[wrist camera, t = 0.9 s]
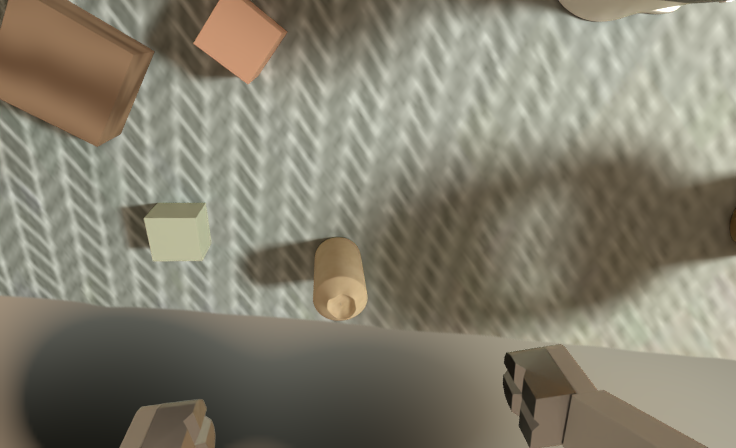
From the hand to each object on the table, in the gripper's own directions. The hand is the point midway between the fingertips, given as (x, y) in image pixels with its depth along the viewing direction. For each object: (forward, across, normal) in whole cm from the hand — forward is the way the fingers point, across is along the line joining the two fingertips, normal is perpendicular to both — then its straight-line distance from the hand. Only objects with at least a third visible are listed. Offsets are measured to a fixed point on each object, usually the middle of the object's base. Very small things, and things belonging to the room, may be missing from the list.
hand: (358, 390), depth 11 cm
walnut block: (+35, +22, -7) cm, 42 cm away
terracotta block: (+35, +6, -8) cm, 37 cm away
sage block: (+35, +18, +10) cm, 40 cm away
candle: (+35, +1, +16) cm, 39 cm away
